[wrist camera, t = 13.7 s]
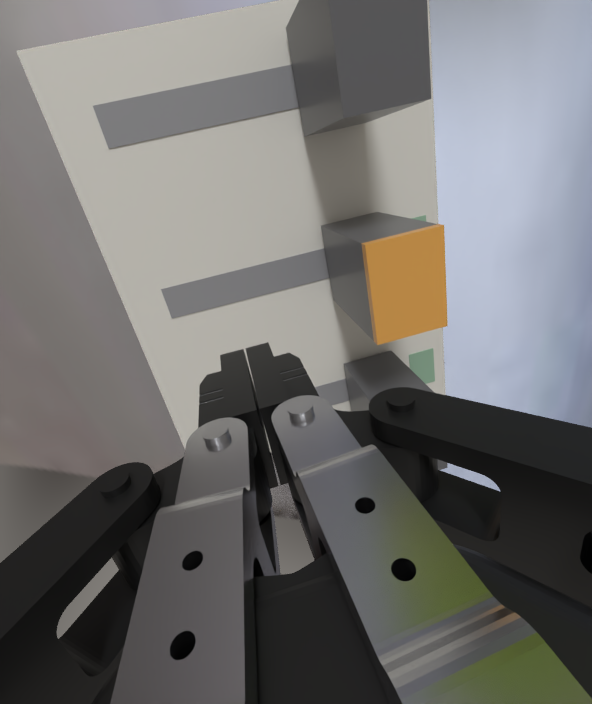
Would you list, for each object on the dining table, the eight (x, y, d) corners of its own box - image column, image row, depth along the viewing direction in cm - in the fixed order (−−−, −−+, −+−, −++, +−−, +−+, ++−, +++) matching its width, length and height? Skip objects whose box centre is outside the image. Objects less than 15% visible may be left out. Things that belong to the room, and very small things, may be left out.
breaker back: (352, 418, 25) (391, 484, 19) (343, 363, 23) (383, 420, 18) (396, 405, 25) (447, 467, 20) (391, 350, 23) (444, 402, 18)
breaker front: (304, 136, 18) (343, 118, 12) (285, 28, 16) (321, -49, 11) (366, 122, 18) (431, 98, 13) (354, 14, 16) (424, -68, 11)
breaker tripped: (333, 300, 21) (377, 345, 15) (320, 225, 19) (365, 245, 14) (385, 286, 21) (447, 325, 16) (377, 211, 20) (443, 225, 14)
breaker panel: (196, 454, 26) (195, 475, 24) (37, 64, 17) (15, 50, 15) (430, 386, 28) (446, 401, 26) (406, -8, 18) (428, -29, 16)
